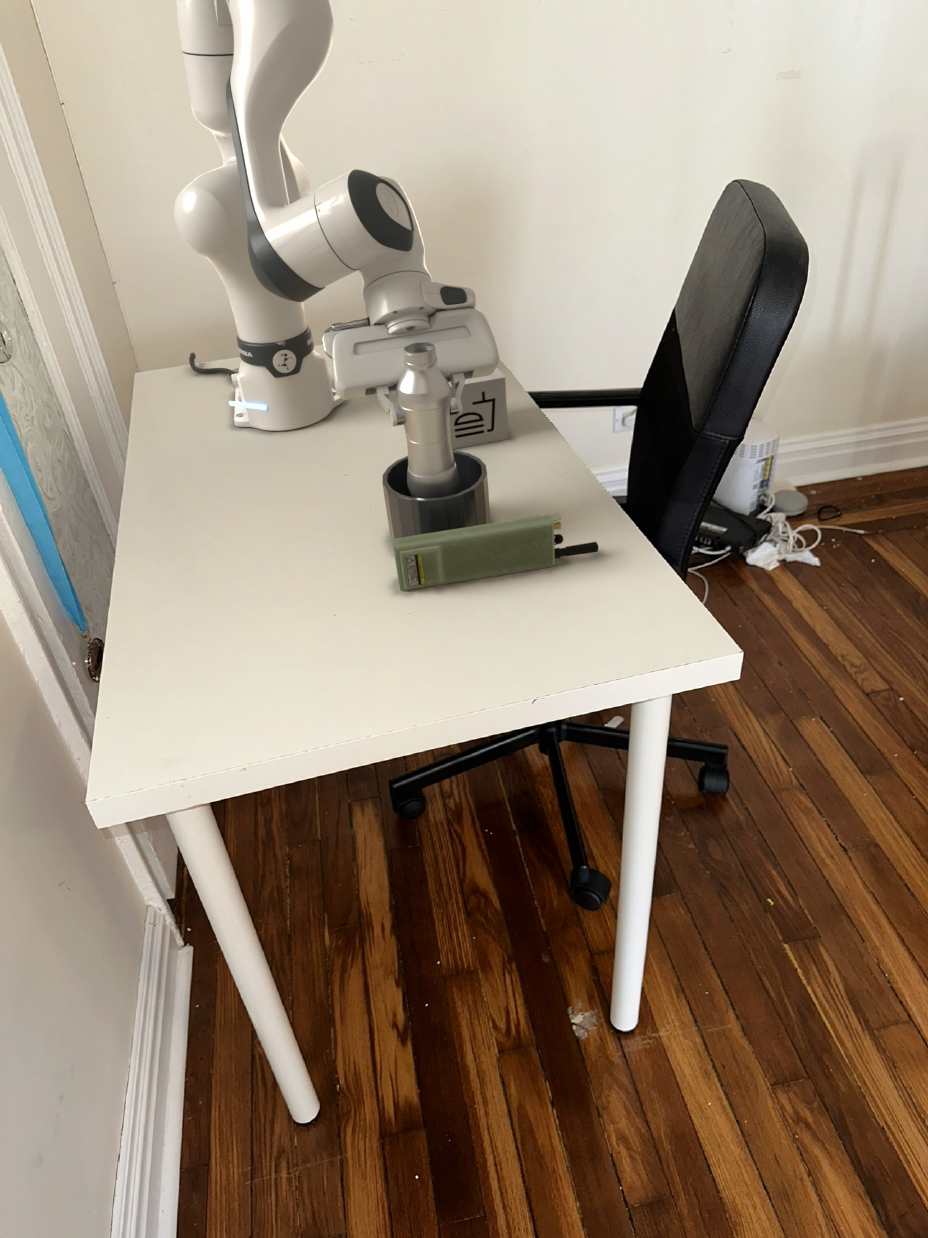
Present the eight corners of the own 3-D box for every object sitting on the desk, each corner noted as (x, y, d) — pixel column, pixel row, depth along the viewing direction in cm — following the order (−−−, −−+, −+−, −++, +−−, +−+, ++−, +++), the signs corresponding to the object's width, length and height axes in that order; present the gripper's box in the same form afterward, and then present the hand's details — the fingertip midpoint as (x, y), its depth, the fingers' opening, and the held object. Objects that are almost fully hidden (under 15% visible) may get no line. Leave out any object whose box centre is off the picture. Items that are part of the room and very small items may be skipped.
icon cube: (508, 438, 142) (505, 377, 136) (445, 450, 140) (439, 388, 134) (491, 413, 149) (487, 353, 143) (431, 423, 148) (425, 364, 142)
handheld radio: (398, 579, 114) (593, 547, 116) (401, 595, 111) (601, 562, 113) (391, 534, 109) (594, 502, 112) (394, 550, 107) (602, 516, 109)
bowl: (378, 523, 125) (369, 464, 119) (469, 499, 128) (464, 441, 122) (409, 572, 115) (401, 510, 109) (506, 545, 118) (503, 483, 112)
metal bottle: (455, 512, 115) (442, 358, 103) (403, 510, 116) (384, 358, 104) (465, 487, 120) (454, 337, 108) (415, 485, 121) (398, 336, 109)
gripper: (318, 313, 107) (343, 424, 106) (486, 287, 111) (512, 394, 109) (319, 337, 114) (343, 442, 112) (478, 312, 117) (503, 414, 115)
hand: (428, 418), depth 111 cm, fingers closed on metal bottle, 6 cm apart
